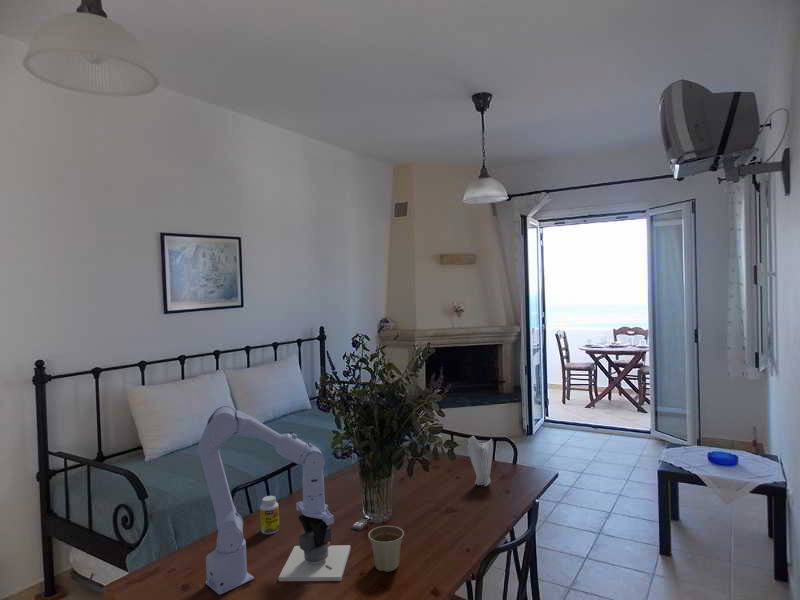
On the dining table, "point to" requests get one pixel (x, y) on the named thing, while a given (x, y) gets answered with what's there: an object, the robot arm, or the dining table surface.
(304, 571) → the post base
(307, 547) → the dark grey blocky piece
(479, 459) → the white vase
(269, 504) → the supplement bottle
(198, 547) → the dining table surface
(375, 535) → the flower pot
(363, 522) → the key chain
